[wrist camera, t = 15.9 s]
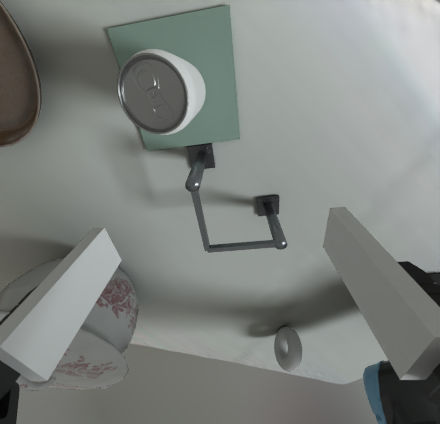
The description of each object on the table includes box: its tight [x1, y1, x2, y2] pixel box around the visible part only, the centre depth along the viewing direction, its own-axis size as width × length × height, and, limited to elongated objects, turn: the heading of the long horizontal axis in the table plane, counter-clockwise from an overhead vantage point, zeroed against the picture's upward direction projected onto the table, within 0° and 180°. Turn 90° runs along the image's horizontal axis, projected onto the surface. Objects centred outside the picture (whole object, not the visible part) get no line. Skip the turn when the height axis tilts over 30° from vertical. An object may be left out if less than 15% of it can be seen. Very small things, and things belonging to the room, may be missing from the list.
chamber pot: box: [0, 257, 139, 391], centre depth 40 cm, size 28×28×21 cm
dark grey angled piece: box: [185, 143, 287, 252], centre depth 29 cm, size 14×14×10 cm
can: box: [117, 49, 206, 135], centre depth 21 cm, size 6×6×12 cm
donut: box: [274, 327, 302, 372], centre depth 54 cm, size 10×4×10 cm, turn 160°
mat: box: [107, 5, 240, 151], centre depth 26 cm, size 14×14×1 cm
